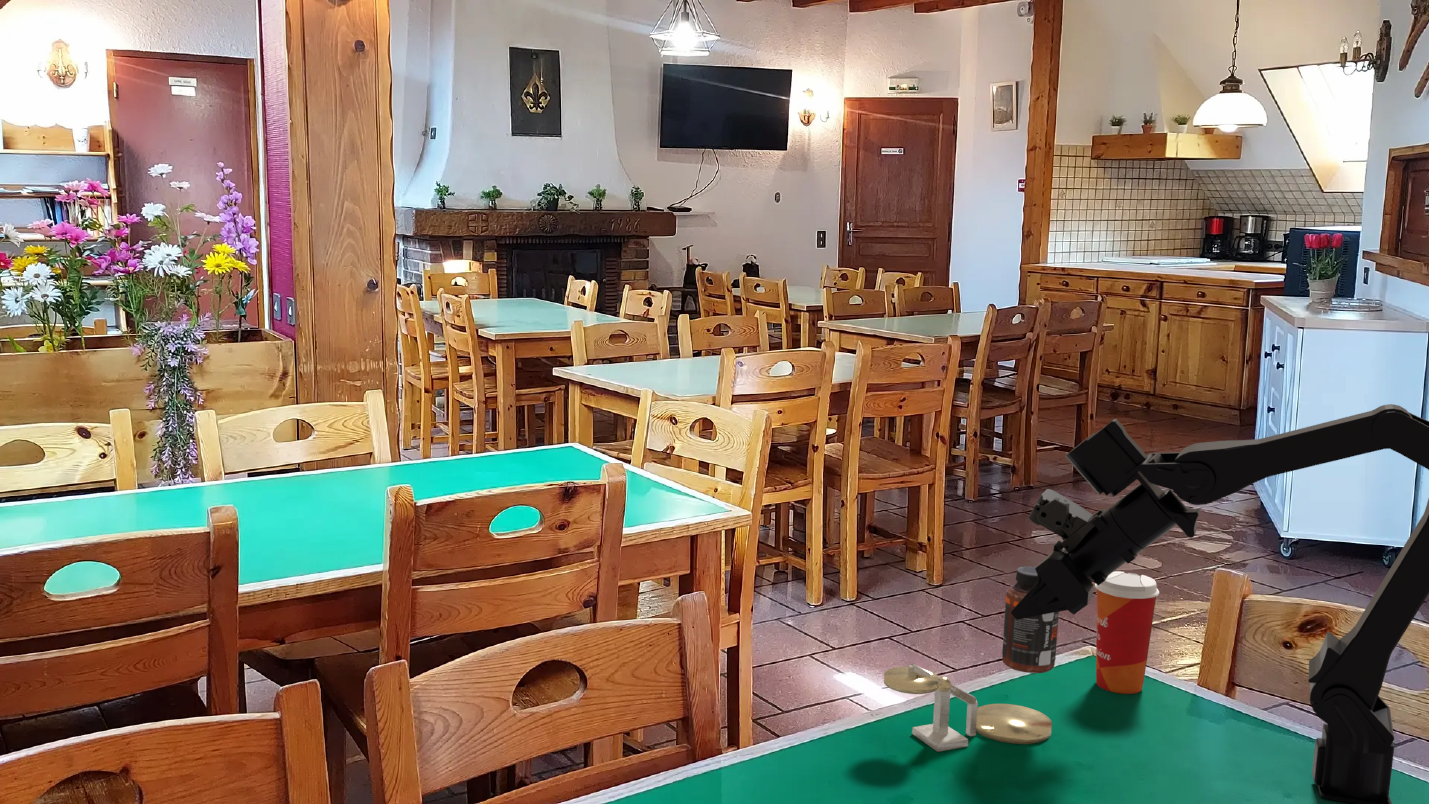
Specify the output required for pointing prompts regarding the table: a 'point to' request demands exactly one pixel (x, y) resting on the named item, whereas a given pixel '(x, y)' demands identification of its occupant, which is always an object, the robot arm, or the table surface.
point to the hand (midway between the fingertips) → (1019, 608)
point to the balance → (986, 720)
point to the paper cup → (1124, 630)
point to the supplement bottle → (1028, 631)
